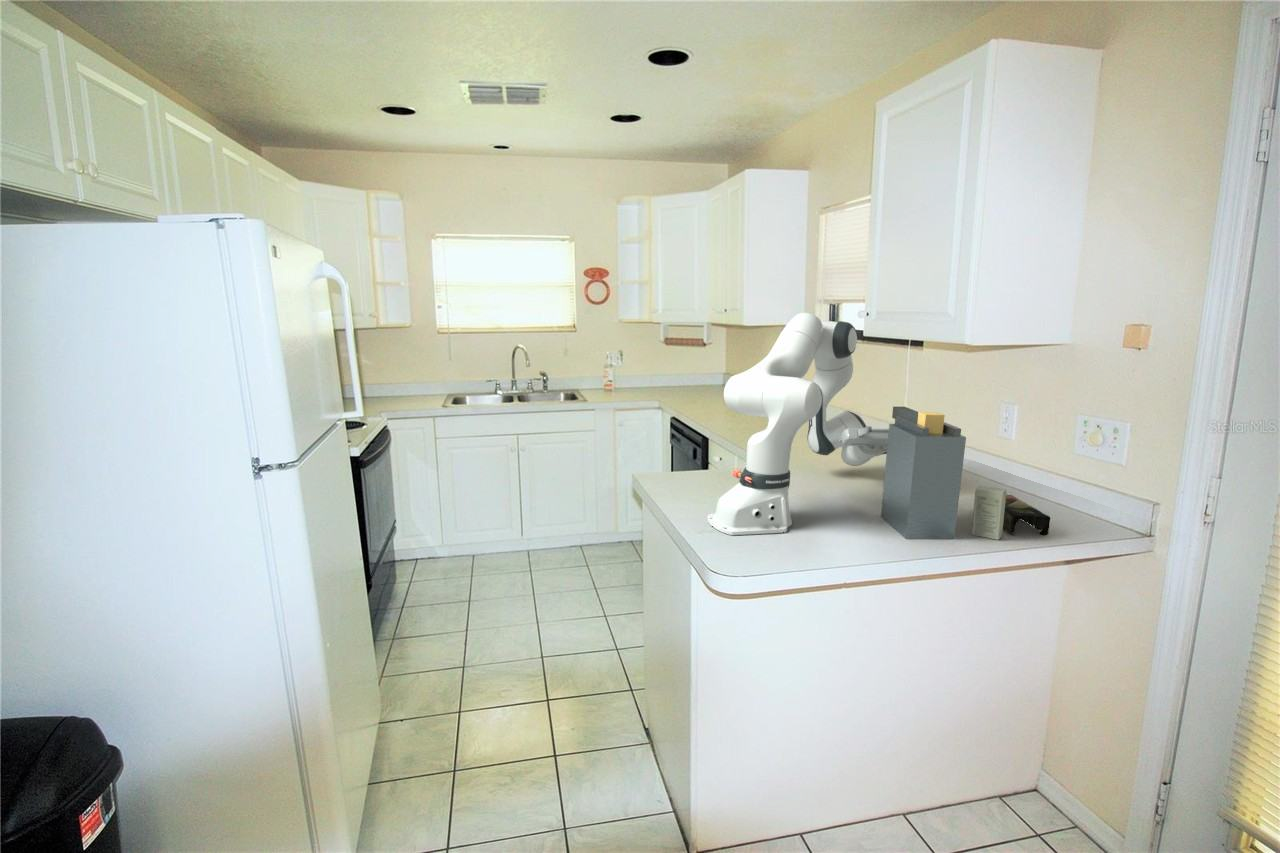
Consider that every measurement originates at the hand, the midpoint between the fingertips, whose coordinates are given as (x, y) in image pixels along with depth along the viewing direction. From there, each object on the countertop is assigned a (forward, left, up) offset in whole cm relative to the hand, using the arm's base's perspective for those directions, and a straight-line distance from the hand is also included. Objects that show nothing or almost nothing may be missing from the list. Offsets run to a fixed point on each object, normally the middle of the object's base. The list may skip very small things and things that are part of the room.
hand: (885, 429), depth 179 cm
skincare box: (+5, -33, -21) cm, 40 cm away
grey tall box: (-8, -23, -21) cm, 32 cm away
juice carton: (+19, -28, -22) cm, 40 cm away
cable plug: (-6, -16, +5) cm, 18 cm away
